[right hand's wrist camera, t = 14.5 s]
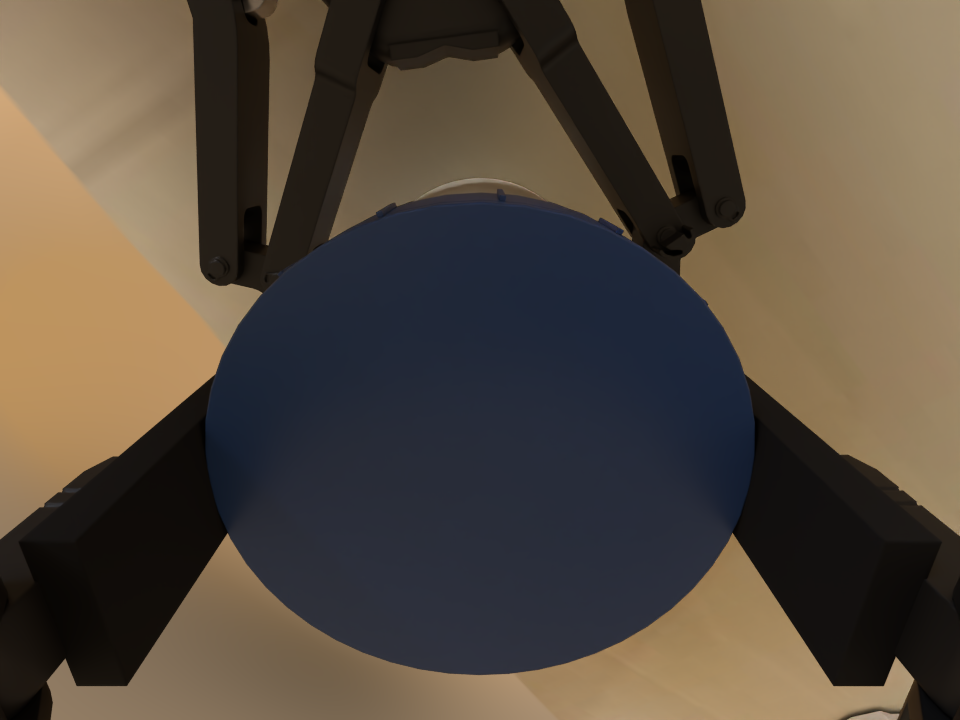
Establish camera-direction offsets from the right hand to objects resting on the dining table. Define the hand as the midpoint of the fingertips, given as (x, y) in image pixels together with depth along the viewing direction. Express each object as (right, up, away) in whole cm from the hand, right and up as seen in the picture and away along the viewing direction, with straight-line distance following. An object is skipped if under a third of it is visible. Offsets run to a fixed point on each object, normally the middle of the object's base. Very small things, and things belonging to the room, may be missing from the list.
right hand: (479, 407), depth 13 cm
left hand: (0, -2, +7) cm, 7 cm away
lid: (0, -1, -3) cm, 3 cm away
